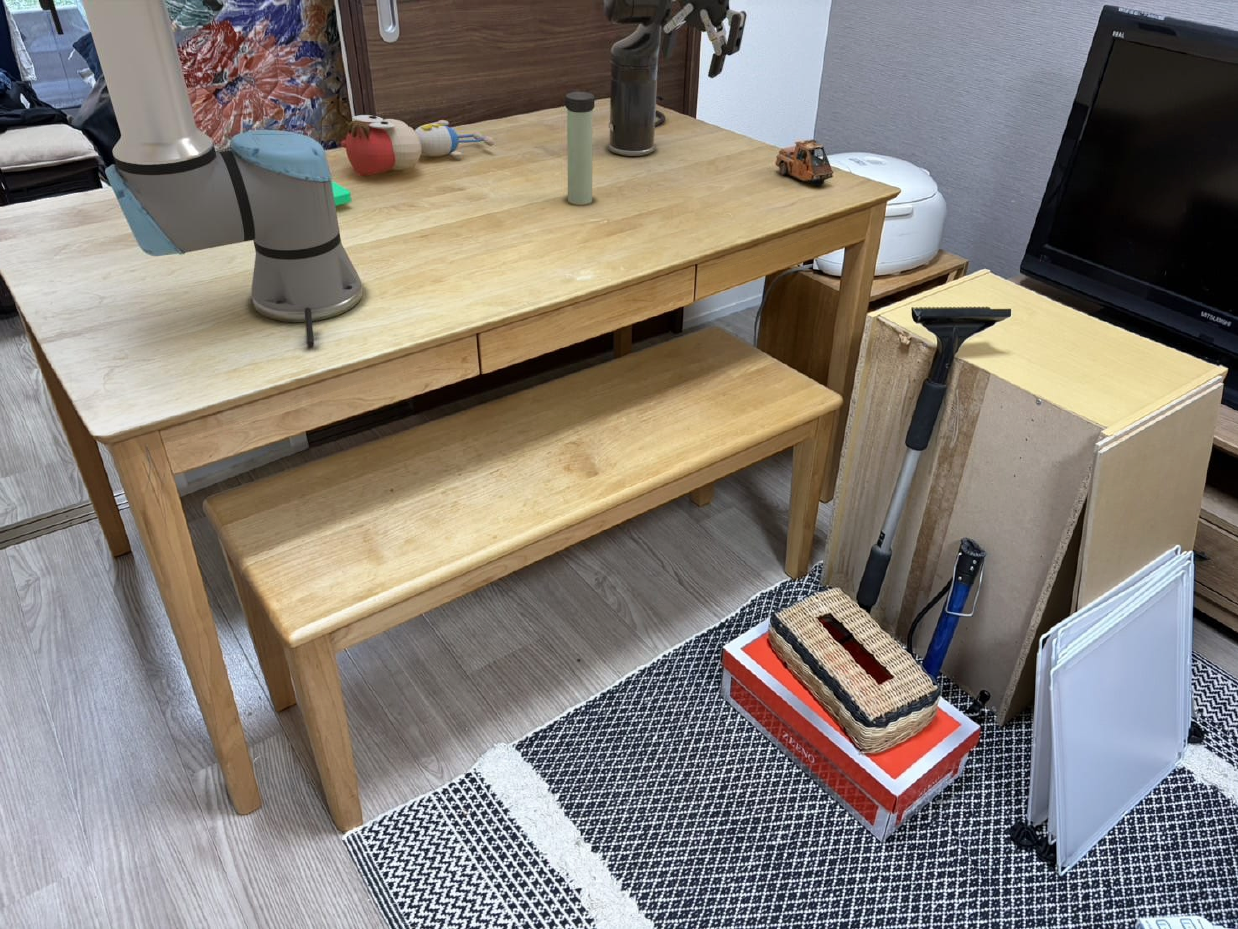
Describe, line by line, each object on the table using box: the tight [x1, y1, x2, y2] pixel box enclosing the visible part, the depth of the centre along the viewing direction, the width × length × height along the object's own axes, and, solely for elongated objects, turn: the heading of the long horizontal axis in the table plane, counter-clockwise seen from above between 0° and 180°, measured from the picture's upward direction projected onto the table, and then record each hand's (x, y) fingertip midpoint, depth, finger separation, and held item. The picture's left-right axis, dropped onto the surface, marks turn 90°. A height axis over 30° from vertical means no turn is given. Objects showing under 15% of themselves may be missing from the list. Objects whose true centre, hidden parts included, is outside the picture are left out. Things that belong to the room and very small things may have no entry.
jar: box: [566, 108, 594, 206], centre depth 163 cm, size 4×4×18 cm
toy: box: [340, 114, 495, 176], centre depth 180 cm, size 18×10×30 cm
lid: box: [565, 91, 596, 112], centre depth 158 cm, size 5×5×2 cm
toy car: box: [774, 138, 834, 187], centre depth 178 cm, size 6×12×7 cm, turn 39°
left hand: (108, 29), depth 146 cm, fingers open, 13 cm apart
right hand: (689, 66), depth 147 cm, fingers open, 8 cm apart
